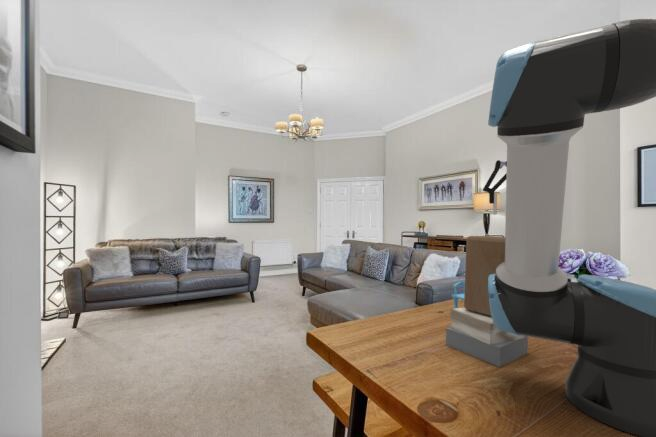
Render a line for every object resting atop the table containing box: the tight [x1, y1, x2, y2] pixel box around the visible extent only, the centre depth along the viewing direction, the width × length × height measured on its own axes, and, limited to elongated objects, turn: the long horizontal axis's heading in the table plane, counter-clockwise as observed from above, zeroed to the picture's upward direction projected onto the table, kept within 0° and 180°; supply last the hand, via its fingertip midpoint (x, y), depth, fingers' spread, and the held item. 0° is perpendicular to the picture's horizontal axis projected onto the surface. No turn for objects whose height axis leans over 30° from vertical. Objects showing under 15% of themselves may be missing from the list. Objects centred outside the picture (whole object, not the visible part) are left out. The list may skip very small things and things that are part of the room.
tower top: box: [450, 306, 524, 345], centre depth 76 cm, size 12×12×5 cm
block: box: [463, 235, 505, 316], centre depth 78 cm, size 10×10×20 cm
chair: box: [451, 281, 465, 309], centre depth 104 cm, size 8×8×12 cm
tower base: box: [445, 326, 529, 368], centre depth 77 cm, size 14×14×5 cm
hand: (521, 214), depth 86 cm, fingers open, 13 cm apart
